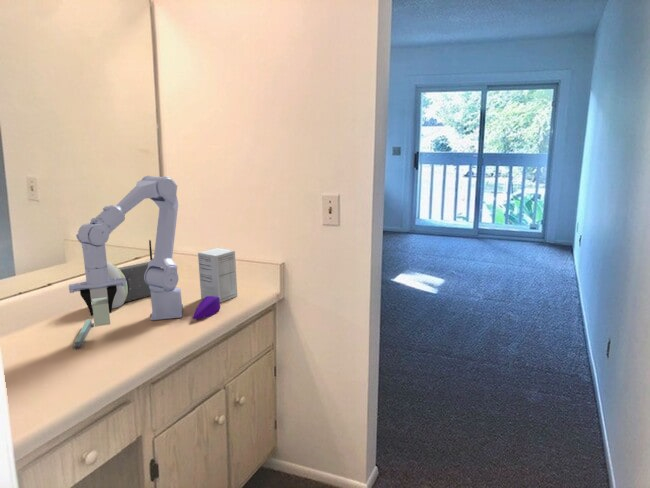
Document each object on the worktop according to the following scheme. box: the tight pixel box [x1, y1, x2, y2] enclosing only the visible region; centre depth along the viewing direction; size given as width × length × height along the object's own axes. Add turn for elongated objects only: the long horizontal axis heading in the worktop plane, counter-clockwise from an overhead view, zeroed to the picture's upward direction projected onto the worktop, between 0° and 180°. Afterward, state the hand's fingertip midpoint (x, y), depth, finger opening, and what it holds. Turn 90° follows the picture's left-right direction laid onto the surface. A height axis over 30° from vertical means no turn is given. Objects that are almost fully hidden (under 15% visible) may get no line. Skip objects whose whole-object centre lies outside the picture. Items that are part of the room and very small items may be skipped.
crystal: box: [192, 296, 221, 320], centre depth 163 cm, size 5×5×15 cm
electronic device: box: [118, 239, 153, 303], centre depth 179 cm, size 17×7×20 cm, turn 140°
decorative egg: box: [90, 262, 128, 310], centre depth 172 cm, size 12×12×15 cm
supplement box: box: [197, 247, 238, 303], centre depth 179 cm, size 10×9×17 cm
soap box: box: [91, 297, 111, 328], centre depth 144 cm, size 7×4×6 cm, turn 26°
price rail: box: [72, 318, 95, 350], centre depth 146 cm, size 2×18×2 cm, turn 15°
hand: (101, 313), depth 144 cm, fingers closed on soap box, 4 cm apart
